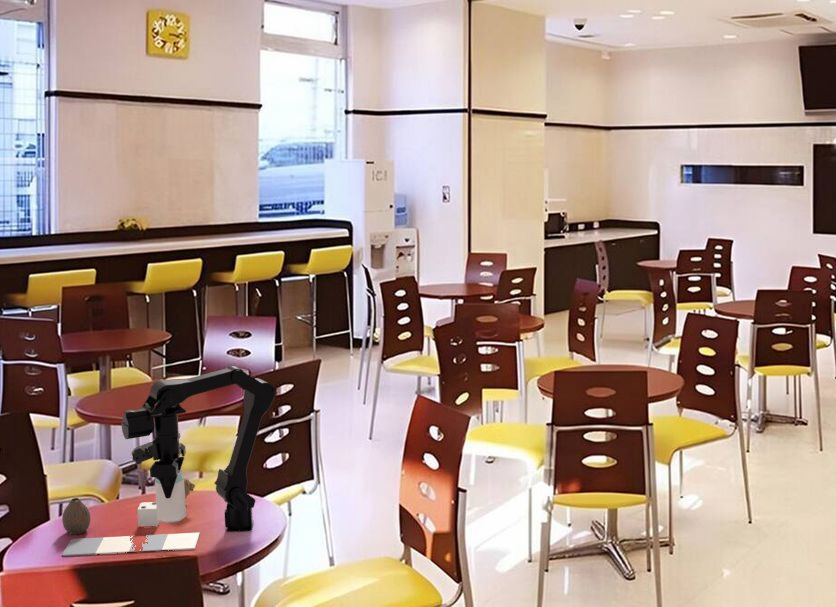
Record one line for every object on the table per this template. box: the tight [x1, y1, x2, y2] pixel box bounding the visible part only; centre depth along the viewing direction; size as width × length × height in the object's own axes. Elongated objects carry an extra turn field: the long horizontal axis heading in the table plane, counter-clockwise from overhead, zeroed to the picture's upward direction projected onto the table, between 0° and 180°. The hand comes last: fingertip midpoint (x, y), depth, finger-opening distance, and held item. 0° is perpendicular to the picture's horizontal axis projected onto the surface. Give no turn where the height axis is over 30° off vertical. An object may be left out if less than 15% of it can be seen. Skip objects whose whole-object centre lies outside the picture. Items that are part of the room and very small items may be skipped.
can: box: [154, 470, 187, 524], centre depth 257 cm, size 7×7×12 cm
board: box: [61, 532, 201, 557], centre depth 258 cm, size 32×10×1 cm, turn 95°
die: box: [137, 501, 161, 527], centre depth 272 cm, size 5×5×5 cm
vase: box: [61, 497, 91, 536], centre depth 267 cm, size 7×7×9 cm
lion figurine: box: [184, 477, 196, 506], centre depth 285 cm, size 15×5×9 cm, turn 45°
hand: (170, 492), depth 257 cm, fingers closed on can, 7 cm apart
